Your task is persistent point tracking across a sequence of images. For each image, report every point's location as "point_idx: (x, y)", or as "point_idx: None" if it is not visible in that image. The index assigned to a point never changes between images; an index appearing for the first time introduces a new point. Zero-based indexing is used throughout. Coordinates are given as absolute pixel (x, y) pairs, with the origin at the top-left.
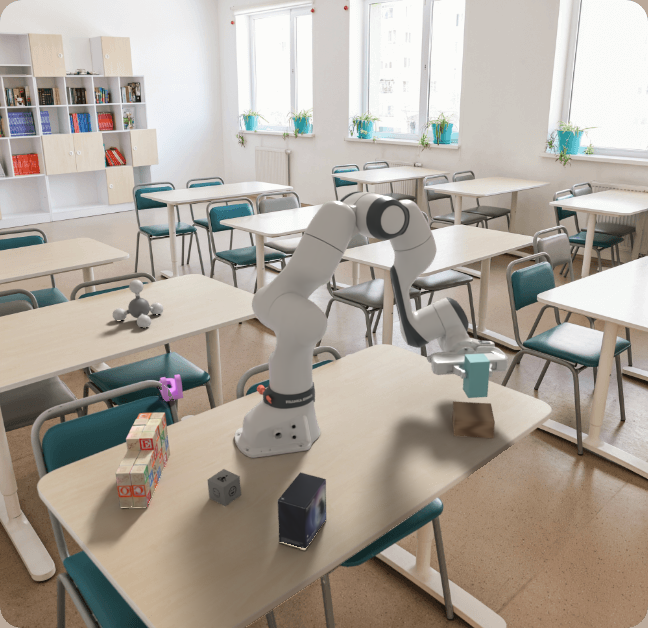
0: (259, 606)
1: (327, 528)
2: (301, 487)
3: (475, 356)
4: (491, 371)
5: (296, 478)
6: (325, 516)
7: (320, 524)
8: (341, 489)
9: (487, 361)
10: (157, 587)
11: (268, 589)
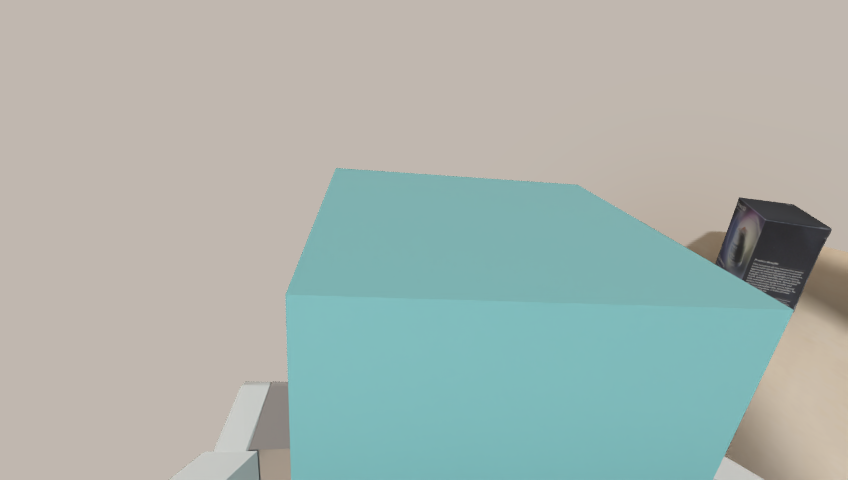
0: (703, 236)
1: None
2: (785, 211)
3: (522, 242)
4: (256, 382)
5: (818, 221)
6: None
7: None
8: (777, 353)
9: (365, 172)
10: (835, 255)
11: (711, 244)
